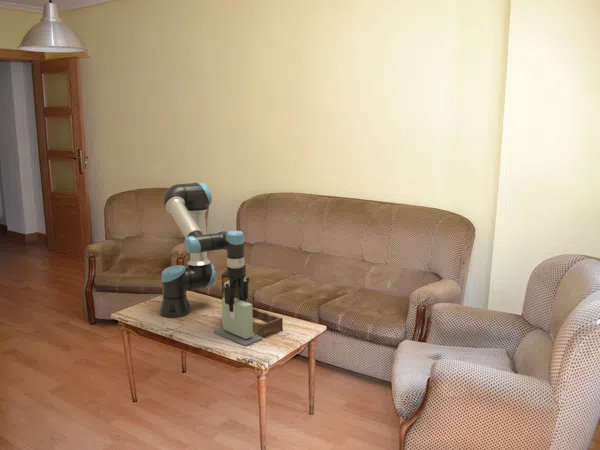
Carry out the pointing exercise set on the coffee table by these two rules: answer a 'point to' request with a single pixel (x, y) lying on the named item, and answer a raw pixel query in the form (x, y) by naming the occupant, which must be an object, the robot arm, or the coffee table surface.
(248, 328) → the pale green slab
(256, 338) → the mat
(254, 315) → the frame
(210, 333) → the coffee table surface
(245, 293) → the robot arm
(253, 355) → the coffee table surface
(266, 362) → the coffee table surface
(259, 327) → the brown wooden bar
